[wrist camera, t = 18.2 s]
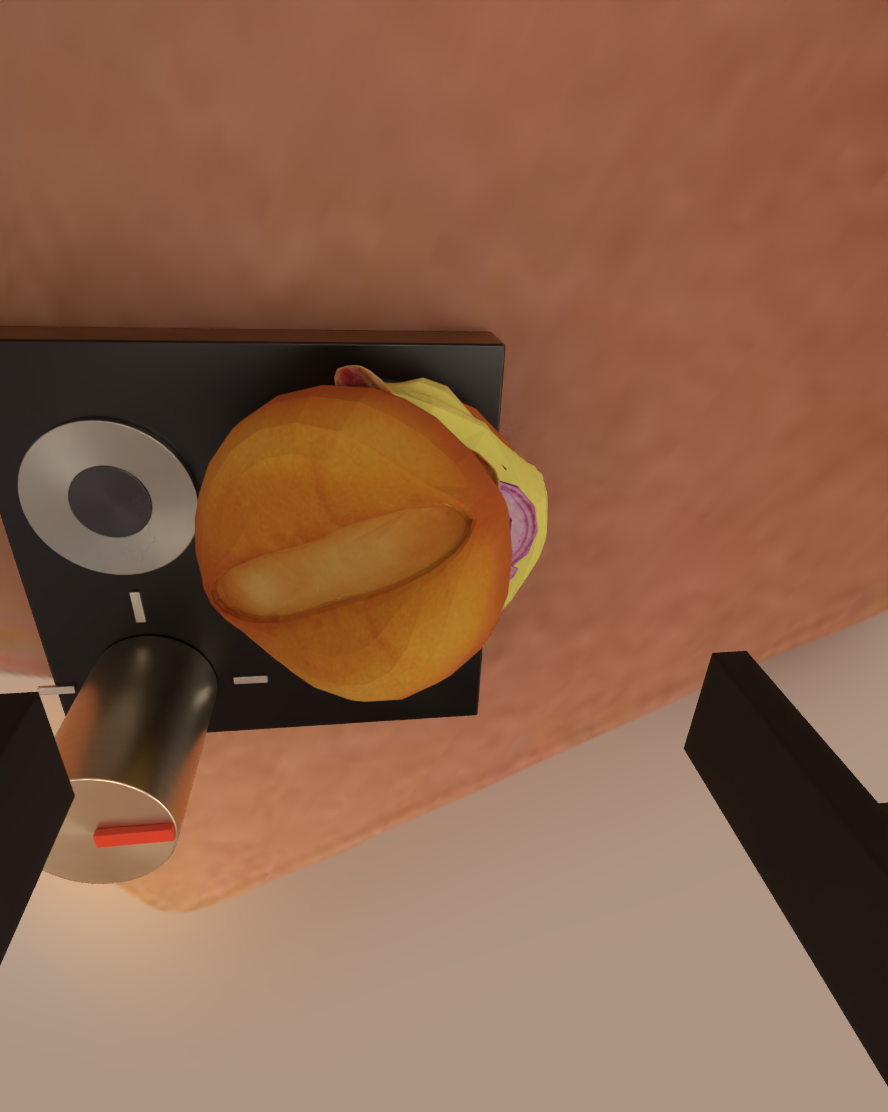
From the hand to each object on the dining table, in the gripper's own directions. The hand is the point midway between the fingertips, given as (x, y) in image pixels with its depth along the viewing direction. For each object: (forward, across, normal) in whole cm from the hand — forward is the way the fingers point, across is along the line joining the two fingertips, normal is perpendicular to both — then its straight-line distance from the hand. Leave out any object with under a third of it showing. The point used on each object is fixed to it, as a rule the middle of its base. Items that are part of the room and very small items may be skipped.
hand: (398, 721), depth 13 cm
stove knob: (+13, -9, -9) cm, 18 cm away
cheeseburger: (+13, 0, -1) cm, 13 cm away
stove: (+15, -4, -4) cm, 16 cm away
